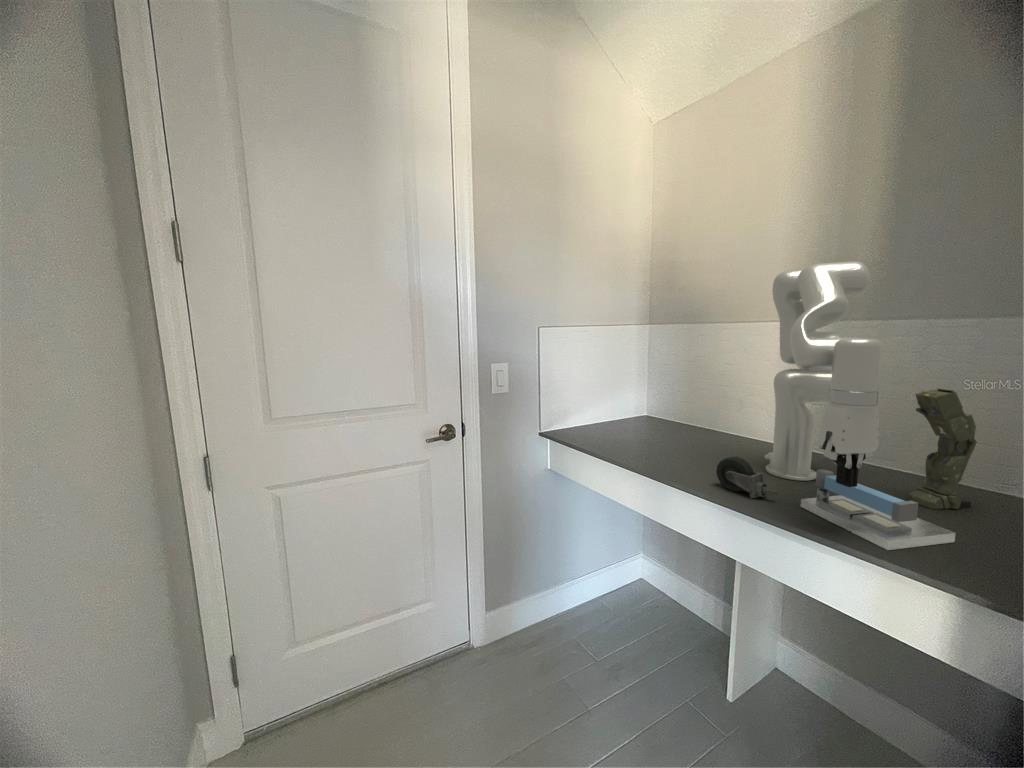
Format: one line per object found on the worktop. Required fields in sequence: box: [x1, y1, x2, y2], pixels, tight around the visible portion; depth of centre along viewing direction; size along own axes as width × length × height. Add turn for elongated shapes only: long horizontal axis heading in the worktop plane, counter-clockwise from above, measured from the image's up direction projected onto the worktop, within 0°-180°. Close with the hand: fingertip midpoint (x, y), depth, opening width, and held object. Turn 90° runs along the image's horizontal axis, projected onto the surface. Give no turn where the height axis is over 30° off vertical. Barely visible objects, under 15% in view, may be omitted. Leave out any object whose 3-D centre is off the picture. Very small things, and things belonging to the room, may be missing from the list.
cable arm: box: [814, 468, 919, 522], centre depth 89 cm, size 20×4×4 cm, turn 9°
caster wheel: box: [715, 456, 779, 499], centre depth 107 cm, size 6×10×15 cm
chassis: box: [800, 487, 957, 551], centre depth 90 cm, size 20×16×5 cm
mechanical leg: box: [908, 387, 977, 510], centre depth 97 cm, size 14×7×30 cm, turn 92°
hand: (846, 484), depth 84 cm, fingers closed
